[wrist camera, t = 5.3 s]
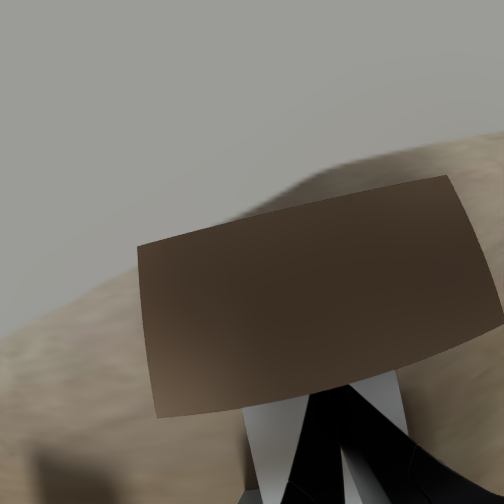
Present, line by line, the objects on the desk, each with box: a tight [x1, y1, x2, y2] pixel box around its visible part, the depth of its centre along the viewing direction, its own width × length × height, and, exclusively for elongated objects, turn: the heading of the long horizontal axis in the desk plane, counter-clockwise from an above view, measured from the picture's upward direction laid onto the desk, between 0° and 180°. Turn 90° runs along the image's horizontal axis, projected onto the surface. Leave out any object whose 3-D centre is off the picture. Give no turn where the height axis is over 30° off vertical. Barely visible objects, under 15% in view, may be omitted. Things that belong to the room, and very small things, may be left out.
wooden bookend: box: [137, 175, 504, 504], centre depth 9 cm, size 11×6×13 cm, turn 11°
